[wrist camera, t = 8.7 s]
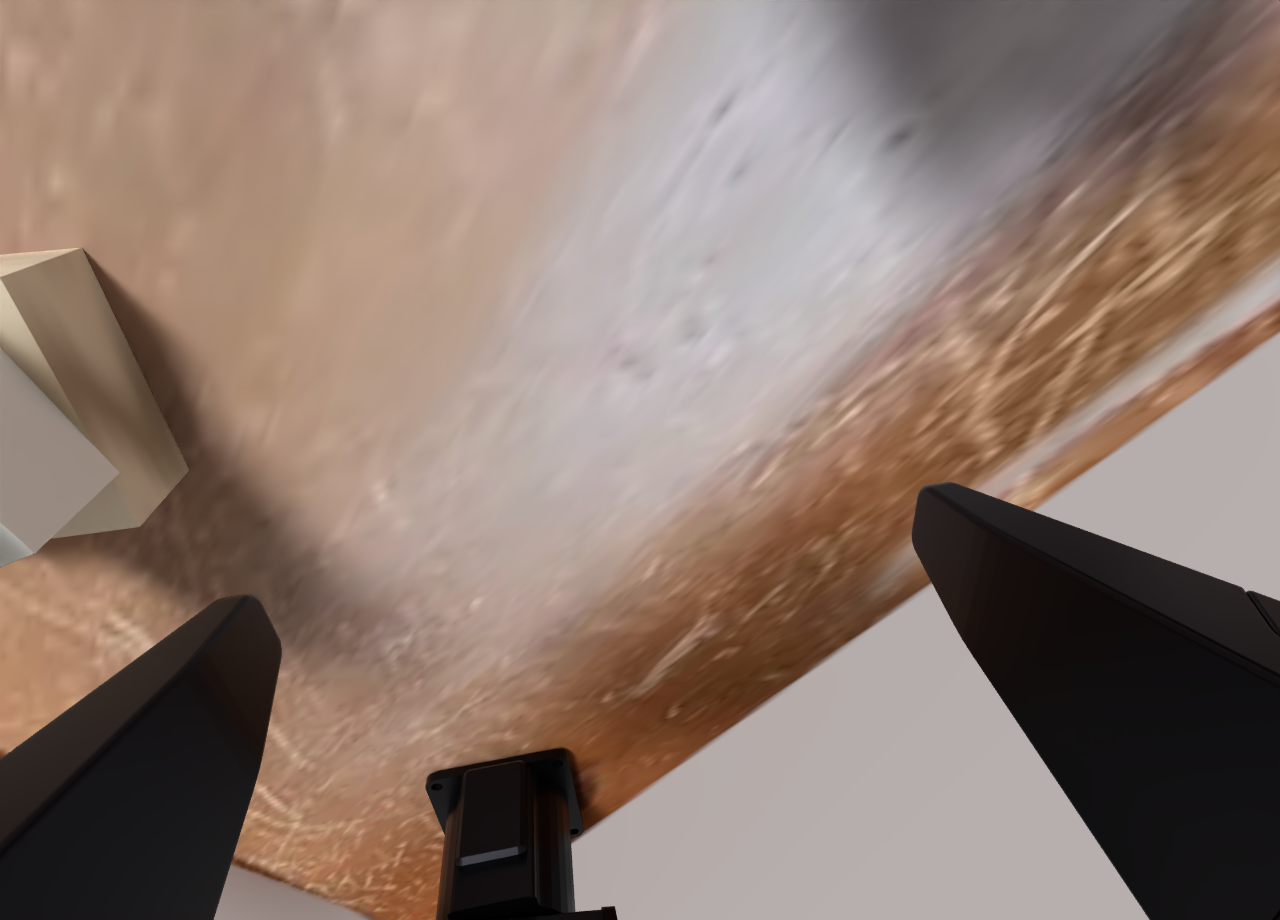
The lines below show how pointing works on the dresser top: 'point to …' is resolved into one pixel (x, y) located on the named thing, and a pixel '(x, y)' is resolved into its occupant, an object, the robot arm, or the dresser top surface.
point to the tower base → (89, 381)
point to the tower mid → (40, 466)
